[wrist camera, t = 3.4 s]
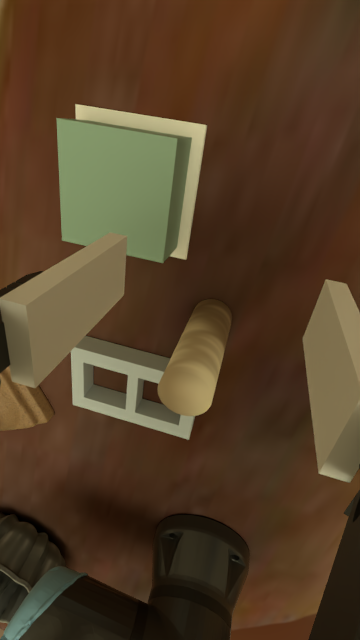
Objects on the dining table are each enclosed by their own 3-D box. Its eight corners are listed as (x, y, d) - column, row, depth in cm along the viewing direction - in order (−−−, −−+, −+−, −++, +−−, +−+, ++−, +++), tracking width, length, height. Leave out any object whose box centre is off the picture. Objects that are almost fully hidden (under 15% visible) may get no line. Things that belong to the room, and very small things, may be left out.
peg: (236, 304, 33) (217, 381, 23) (227, 337, 35) (206, 422, 25) (196, 294, 33) (160, 365, 23) (190, 328, 35) (155, 407, 25)
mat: (207, 125, 26) (206, 125, 26) (186, 258, 32) (185, 259, 32) (78, 104, 28) (75, 104, 28) (80, 234, 33) (78, 235, 33)
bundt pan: (-42, 530, 77) (-82, 579, 68) (-25, 476, 63) (-72, 530, 54) (59, 587, 78) (32, 642, 69) (97, 546, 64) (70, 610, 55)
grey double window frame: (205, 368, 37) (201, 382, 35) (193, 424, 42) (188, 439, 40) (81, 334, 40) (70, 346, 37) (82, 391, 44) (72, 404, 42)
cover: (192, 137, 27) (177, 138, 23) (177, 247, 31) (162, 263, 27) (86, 120, 28) (56, 117, 24) (87, 227, 32) (62, 240, 29)
